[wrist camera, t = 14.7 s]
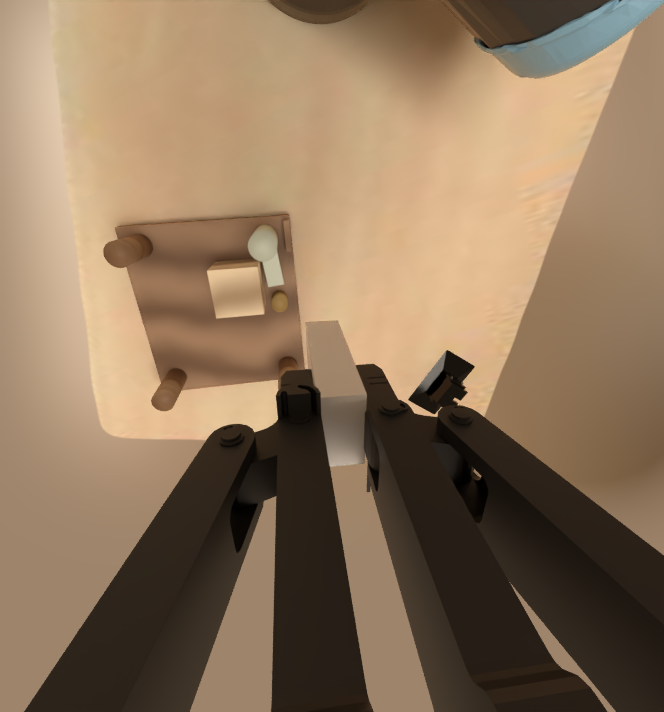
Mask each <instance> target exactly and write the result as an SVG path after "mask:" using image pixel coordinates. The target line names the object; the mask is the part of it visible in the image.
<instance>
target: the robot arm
mask: <svg viewBox="0 0 664 712" xmlns="http://www.w3.org/2000/svg"><path fill="white" fill-rule="evenodd" d="M269 1H270V2H271V3H272V4H273V5H275V6H276V7H277V8H278V9H280V10H281V11H283V12H284V13H286V14H288V15H289V16H291V17H293V18H296V19H298V20H301V21H304V22H309V23H315V24H326V23H333V22H337V21H341V20H343V19H346V18H348V17H350V16H352V15H353V14H355V13H357V12H358V11H359V10H361V9H362V8H363V7H364V6H365V5H366V4H367V3H368V2H369V1H370V0H269ZM440 1H441V2H442V3H443V4H444V5H445V6H446V7H447V8H448V9H449V10H450V11H451V12H452V13H453V14H454V16H455V17H456V18H457V19H458V20H459V21H460V22H461V23H462V24H463V25H464V26H465V27H466V28H467V29H468V30H469V31H470V32H471V33H472V35H473V36H474V38H475V43H476V44H477V45H478V46H479V48H481V49H482V50H483V51H485V52H488V53H490V54H492V55H493V56H495V57H496V58H497V59H498V60H499V61H500V62H501V63H502V64H503V65H504V66H505V67H506V68H507V69H508V70H509V71H511V72H512V73H513V74H515V75H517V76H519V77H528V78H535V79H537V78H544V77H548V76H552V75H555V74H558V73H561V72H563V71H566V70H568V69H570V68H572V67H574V66H576V65H578V64H580V63H582V62H584V61H585V60H587V59H589V58H590V57H592V56H594V55H595V54H597V53H599V52H600V51H602V50H603V49H605V48H607V47H608V46H610V45H611V44H613V43H614V42H615V41H617V40H618V39H620V38H621V37H622V36H624V35H625V34H627V33H628V32H629V31H631V30H632V29H633V28H635V27H636V26H637V25H638V24H640V23H641V22H642V21H644V20H645V19H646V18H647V17H648V16H650V15H651V14H652V13H653V12H654V11H655V10H656V9H658V8H659V7H660V6H661V5H662V4H663V3H664V0H440ZM306 336H307V357H308V369H305V370H290V371H286V372H285V373H284V374H283V375H282V377H281V389H280V390H279V391H278V392H277V395H276V401H277V412H278V420H277V422H276V423H274V424H273V425H272V426H270V427H268V428H266V429H264V430H261V431H258V432H254V431H253V429H252V428H250V427H249V426H247V425H242V424H231V425H227V426H223V427H221V428H219V429H217V430H216V431H214V432H213V433H212V434H211V435H210V436H209V437H208V439H207V440H206V442H205V443H204V445H203V446H202V448H201V450H200V451H199V452H198V454H197V456H196V457H195V458H194V460H193V461H192V463H191V464H190V466H189V467H188V469H187V470H186V472H185V473H184V475H183V476H182V478H181V479H180V481H179V482H178V484H177V485H176V486H175V488H174V489H173V491H172V493H171V494H170V495H169V497H168V498H167V500H166V501H165V503H164V504H163V506H162V507H161V509H160V510H159V512H158V513H157V515H156V516H155V518H154V519H153V521H152V522H151V524H150V525H149V527H148V528H147V530H146V531H145V533H144V534H143V536H142V537H141V539H140V540H139V542H138V543H137V545H136V546H135V548H134V549H133V551H132V552H131V554H130V555H129V557H128V558H127V559H126V561H125V562H124V564H123V565H122V567H121V568H120V570H119V571H118V573H117V575H116V576H115V577H114V579H113V580H112V582H111V583H110V585H109V586H108V588H107V589H106V591H105V592H104V594H103V595H102V597H101V598H100V600H99V601H98V603H97V604H96V606H95V607H94V609H93V610H92V612H91V613H90V615H89V616H88V618H87V619H86V621H85V622H84V624H83V625H82V627H81V628H80V629H79V631H78V632H77V634H76V635H75V637H74V638H73V640H72V641H71V643H70V644H69V646H68V647H67V649H66V651H65V652H64V653H63V655H62V656H61V658H60V659H59V661H58V662H57V664H56V665H55V667H54V668H53V670H52V671H51V673H50V674H49V676H48V677H47V679H46V680H45V682H44V683H43V685H42V686H41V688H40V689H39V691H38V692H37V694H36V695H35V697H34V698H33V699H32V701H31V703H30V704H29V705H28V707H27V708H26V710H25V711H24V712H190V709H191V706H192V704H193V701H194V698H195V695H196V692H197V690H198V687H199V684H200V681H201V678H202V676H203V673H204V670H205V667H206V664H207V662H208V659H209V656H210V653H211V650H212V648H213V645H214V642H215V639H216V637H217V634H218V631H219V628H220V625H221V623H222V620H223V617H224V614H225V611H226V609H227V606H228V603H229V600H230V597H231V595H232V592H233V589H234V586H235V583H236V581H237V578H238V575H239V572H240V569H241V567H242V564H243V561H244V558H245V555H246V553H247V550H248V547H249V544H250V542H251V539H252V536H253V533H254V530H255V527H256V525H257V522H258V519H259V516H260V514H261V510H262V508H263V502H264V500H267V499H270V498H272V497H275V496H277V497H276V538H275V540H276V541H275V582H274V584H275V585H274V626H273V671H272V675H273V676H272V708H271V712H373V709H372V706H371V704H370V702H369V699H368V695H367V689H366V684H365V679H364V673H363V666H362V660H361V654H360V648H359V642H358V636H357V630H356V623H355V617H354V611H353V605H352V599H351V593H350V587H349V581H348V575H347V569H346V563H345V557H344V550H343V544H342V538H341V533H340V526H339V520H338V514H337V508H336V503H335V496H334V490H333V484H332V478H331V471H330V467H332V466H342V465H353V464H363V463H364V461H365V459H364V458H365V454H366V457H367V460H368V469H367V492H370V486H371V489H372V492H373V496H374V499H375V503H376V506H377V510H378V514H379V517H380V521H381V524H382V528H383V531H384V535H385V538H386V541H387V545H388V549H389V552H390V556H391V559H392V563H393V566H394V570H395V574H396V577H397V580H398V584H399V588H400V591H401V595H402V598H403V602H404V605H405V609H406V613H407V616H408V619H409V623H410V626H411V630H412V634H413V637H414V641H415V644H416V648H417V651H418V655H419V658H420V662H421V666H422V669H423V673H424V676H425V680H426V683H427V686H428V690H429V694H430V697H431V700H432V704H433V708H434V712H607V711H606V709H605V707H604V706H603V704H602V703H601V702H600V700H599V699H598V697H597V696H596V695H595V693H594V692H593V691H592V689H591V688H590V687H589V686H588V685H587V684H586V683H585V682H584V681H583V680H582V679H581V678H580V677H579V676H578V675H575V674H573V673H571V672H568V671H566V670H564V669H562V668H561V667H560V666H559V665H558V664H557V663H556V662H555V661H554V659H553V658H552V656H551V655H550V653H549V652H548V650H547V648H546V647H545V645H544V643H543V641H542V639H541V638H540V636H539V634H538V632H537V631H536V629H535V627H534V625H533V624H532V622H531V620H530V618H529V616H528V615H527V613H526V611H525V609H524V607H523V606H522V604H521V602H520V600H519V599H518V597H517V595H516V594H515V592H514V590H513V588H512V586H511V584H512V585H513V587H515V589H516V590H517V591H518V593H519V594H520V595H521V596H522V597H523V599H524V600H525V601H526V602H527V604H528V605H529V606H530V607H531V608H532V610H533V611H534V612H535V613H536V615H537V616H538V617H539V618H540V619H541V621H542V622H543V623H544V624H545V626H546V627H547V628H548V629H549V630H550V632H551V633H552V634H553V635H554V636H555V638H556V639H557V640H558V641H559V643H560V644H561V645H562V646H563V647H564V649H565V650H566V651H567V652H568V654H569V655H570V656H571V657H572V658H573V660H574V661H575V662H576V663H577V665H578V666H579V667H580V668H581V669H582V670H583V672H584V673H585V674H586V675H587V676H588V678H589V679H590V680H591V681H592V683H593V684H594V685H595V686H596V688H597V689H598V690H599V691H600V692H601V694H602V695H603V696H604V697H605V699H606V700H607V701H608V702H609V703H610V705H611V706H612V707H613V708H614V709H615V710H616V712H664V555H662V554H661V553H660V552H658V551H657V550H656V549H655V548H653V547H652V546H651V545H649V544H648V543H647V542H645V541H644V540H643V539H641V538H640V537H639V536H638V535H636V534H635V533H634V532H632V531H631V530H630V529H628V528H627V527H626V526H625V525H623V524H622V523H621V522H619V521H618V520H617V519H616V518H614V517H613V516H612V515H610V514H609V513H608V512H607V511H605V510H604V509H603V508H601V507H600V506H599V505H597V504H596V503H595V502H593V501H592V500H591V499H590V498H588V497H587V496H586V495H584V494H583V493H582V492H580V491H579V490H578V489H577V488H575V487H574V486H573V485H571V484H570V483H569V482H568V481H566V480H565V479H564V478H562V477H561V476H560V475H558V474H557V473H556V472H555V471H553V470H552V469H551V468H549V467H548V466H547V465H546V464H544V463H543V462H541V461H540V460H539V459H538V458H536V457H535V456H534V455H533V454H531V453H530V452H529V451H527V450H526V449H525V448H523V447H522V446H521V445H520V444H518V443H517V442H516V441H514V440H513V439H512V438H510V437H509V436H508V435H506V434H505V433H504V432H503V431H501V430H500V429H499V428H498V427H496V426H495V425H494V424H492V423H491V422H490V421H488V420H487V419H486V418H485V417H483V416H482V415H481V414H479V413H478V412H476V411H475V410H473V409H471V408H468V407H465V406H460V405H450V406H445V407H443V408H441V409H440V411H439V412H438V417H431V416H423V415H418V414H415V413H414V412H413V411H412V409H411V407H410V406H409V405H408V404H407V403H405V402H403V401H401V400H398V399H397V397H396V395H395V393H394V391H393V389H392V387H391V386H390V384H389V382H388V380H387V378H386V376H385V374H384V372H383V370H382V369H380V368H379V367H378V366H376V365H375V364H365V365H355V363H354V360H353V358H352V355H351V353H350V350H349V348H348V345H347V343H346V340H345V338H344V335H343V333H342V330H341V327H340V325H339V322H338V321H319V322H306ZM474 469H475V470H476V471H477V472H478V473H479V474H480V475H481V476H482V477H481V478H480V477H479V476H477V475H476V474H475V473H474V472H473V471H474ZM508 580H509V581H508ZM509 582H510V583H511V584H510V583H509Z"/></svg>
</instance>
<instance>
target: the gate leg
mask: <svg viewBox="0 0 664 712" xmlns="http://www.w3.org/2000/svg"><path fill="white" fill-rule="evenodd" d="M277 244H278V234H277V232H276V230H275V229H274V228H273V227H272V226H270V225H266V224H264V225H260V226H259V227H258V228H257V229H256V230H255V232H254V233H253V235H252V236H251V237H250V239H249V242H248V250H249V253H250V254H251V256H252V257H253V258H254V259H256V260H258V261H261V262H263V266H264V271H265V275H266V279H267V283H268V287H272V286H278V285H283V284H284V279H283V275H282V270H281V265H280V261H279V256H278V251H277Z"/></svg>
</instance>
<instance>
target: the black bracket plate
mask: <svg viewBox="0 0 664 712" xmlns="http://www.w3.org/2000/svg"><path fill="white" fill-rule="evenodd" d="M474 367H475V366H473V365H472V364H470V363H468V362H467V361H465V360H463V359H462V358H460V357H458V356H457V355H455V354H453V353H452V352H450V351H448V350H447V351H446V352H445V353H444V354H443V356H442V357H441V358H440V359H439V361H438V362H437V363H436V364H435V366H434V367H433V368H432V370H431V371H430V372H429V373H428V375H427V376H426V377H425V379H424V380H423V381H422V382H421V384H420V385H419V386H418V388H417V389H416V390H415V391H414V393H413V394H412V395H411V396H410V398H409V399H408V400H409V401H411V402H413V403H414V404H416V405H418V406H420V407H422V408H423V409H425V410H427V411H429V412H431V413H432V414H435V413H436V412H437V411H438V410H439V409H440V407H445V406H450V405H457V404H458V403H457V402H456V401H454V400H453V399H454V398H457V399H459V400H462V398H463V397H464V396H465V395H466V394H467V393H468V392H467V391H466V390H465V388H466V387H465V386H464V385H463V382H462V381H463V380H464V379H465V378H466V377H467V376H468V374H469V373H470V372H471V371H472V370H473V368H474Z"/></svg>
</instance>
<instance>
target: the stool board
mask: <svg viewBox="0 0 664 712" xmlns="http://www.w3.org/2000/svg"><path fill="white" fill-rule="evenodd" d="M264 224H266V225H270V226H272V227H273V228H274V229H275V230H276V232H277V234H278V244H277V251H278V256H279V261H280V265H281V270H282V275H283V279H284V284H283V285H278V286H272V287H268V283H267V279H266V275H265V271H264V266H263V262H261V267H262V275H263V282H264V290H265V297H266V306H265V313H264V314H262V315H251V316H239V317H228V318H217V319H216V314H215V309H214V304H213V299H212V294H211V289H210V284H209V279H208V274H207V270H208V269H209V268H210V267H211V266H212V265H213V264H214V263H215V262H220V261H234V260H247V259H254V258H253V257H252V256H251V254H250V253H249V250H248V242H249V239H250V237H251V236H252V235H253V233H254V232H255V230H256V229H257V228H258V227H259V226H260V225H264ZM115 230H116V234H117V237H118V240H115V241H111V242H109V243H107V244H106V245H105V247H104V257H105V259H106V260H107V261H108V263H110V264H111V265H112V266H114V267H118V268H124V267H127V270H128V274H129V277H130V280H131V284H132V287H133V290H134V294H135V297H136V300H137V304H138V307H139V310H140V314H141V317H142V320H143V324H144V327H145V330H146V334H147V337H148V340H149V344H150V347H151V350H152V354H153V357H154V360H155V364H156V367H157V370H158V374H159V377H160V380H161V384H160V386H159V387H158V389H157V391H156V392H155V394H154V395H153V397H152V400H151V402H152V405H153V406H154V407H155V408H156V409H157V410H160V411H168V410H170V409H172V408H173V406H174V404H175V402H176V400H177V398H178V396H179V394H180V392H181V390H188V389H197V388H206V387H215V386H224V385H233V384H242V383H251V382H260V381H269V380H278V389H279V390H280V389H281V377H282V375H283V374H284V373H285V372H286V371H290V370H305V367H304V357H303V347H302V337H301V327H300V317H299V307H298V298H297V288H296V278H295V268H294V258H293V248H292V238H291V228H290V218H289V215H276V216H261V217H246V218H232V219H217V220H203V221H188V222H174V223H159V224H144V225H130V226H119V227H115Z"/></svg>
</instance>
